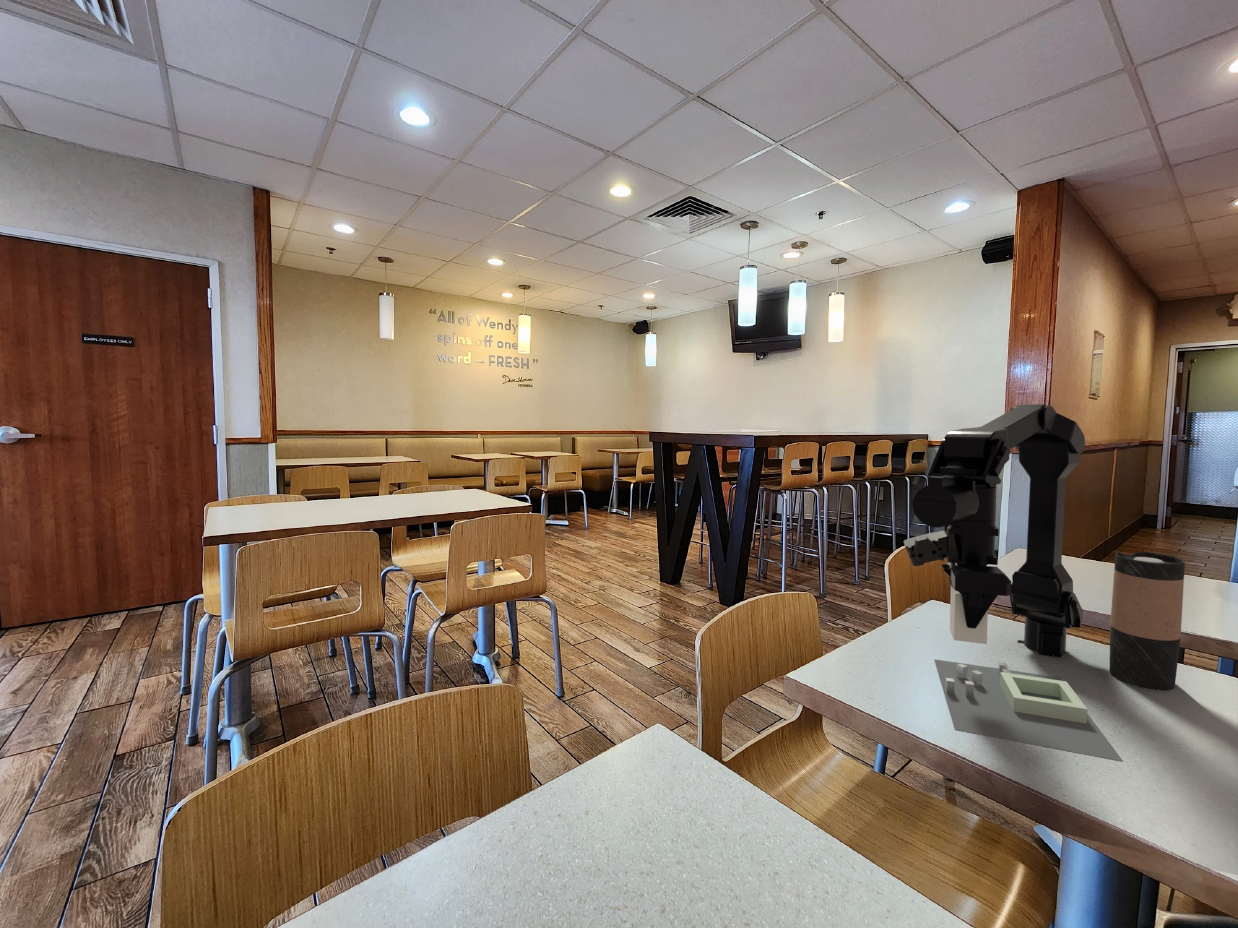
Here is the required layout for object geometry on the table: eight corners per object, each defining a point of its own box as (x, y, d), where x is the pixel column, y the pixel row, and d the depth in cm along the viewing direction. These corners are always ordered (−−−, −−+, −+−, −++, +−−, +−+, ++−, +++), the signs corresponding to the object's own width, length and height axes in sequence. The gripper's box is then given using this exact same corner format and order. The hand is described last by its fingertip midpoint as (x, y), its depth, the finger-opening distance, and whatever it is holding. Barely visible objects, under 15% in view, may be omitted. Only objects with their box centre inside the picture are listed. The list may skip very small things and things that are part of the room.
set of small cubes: (937, 665, 88) (938, 653, 88) (1005, 675, 84) (1006, 663, 84) (946, 693, 79) (946, 680, 79) (1022, 706, 75) (1023, 692, 75)
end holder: (999, 684, 81) (1000, 671, 81) (1065, 694, 78) (1066, 681, 78) (1013, 711, 74) (1013, 697, 74) (1086, 723, 71) (1087, 709, 71)
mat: (933, 664, 90) (934, 659, 90) (1060, 683, 83) (1060, 677, 83) (954, 736, 70) (954, 729, 70) (1122, 769, 63) (1123, 761, 63)
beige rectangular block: (949, 629, 82) (950, 584, 81) (980, 633, 80) (982, 587, 79) (953, 640, 78) (955, 593, 77) (986, 644, 76) (988, 596, 76)
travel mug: (1174, 703, 77) (1184, 567, 75) (1103, 684, 83) (1111, 557, 81) (1178, 685, 82) (1187, 557, 80) (1110, 668, 88) (1118, 548, 86)
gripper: (903, 504, 89) (902, 595, 91) (913, 528, 72) (911, 639, 74) (983, 507, 85) (980, 603, 86) (1014, 532, 68) (1010, 651, 69)
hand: (968, 622), depth 79 cm, fingers closed on beige rectangular block, 4 cm apart
